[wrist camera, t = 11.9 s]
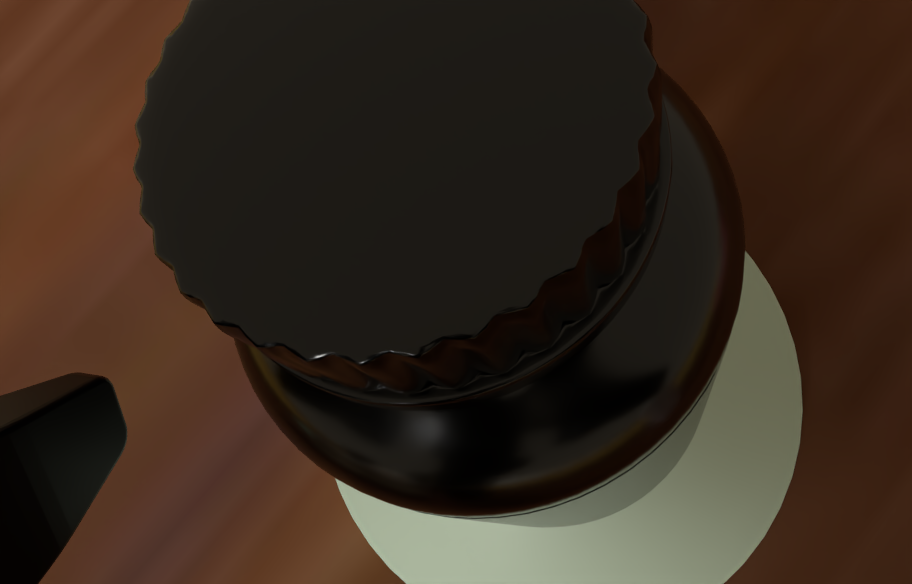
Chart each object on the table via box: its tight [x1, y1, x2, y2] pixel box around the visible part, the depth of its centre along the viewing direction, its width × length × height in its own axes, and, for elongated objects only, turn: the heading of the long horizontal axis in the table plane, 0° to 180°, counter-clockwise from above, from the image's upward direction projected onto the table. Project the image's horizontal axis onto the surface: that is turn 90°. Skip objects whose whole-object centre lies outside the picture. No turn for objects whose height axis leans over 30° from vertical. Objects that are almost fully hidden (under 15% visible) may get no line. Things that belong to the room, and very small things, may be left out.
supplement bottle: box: [133, 0, 745, 528], centre depth 12 cm, size 7×7×12 cm
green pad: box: [336, 251, 803, 584], centre depth 19 cm, size 11×11×1 cm
